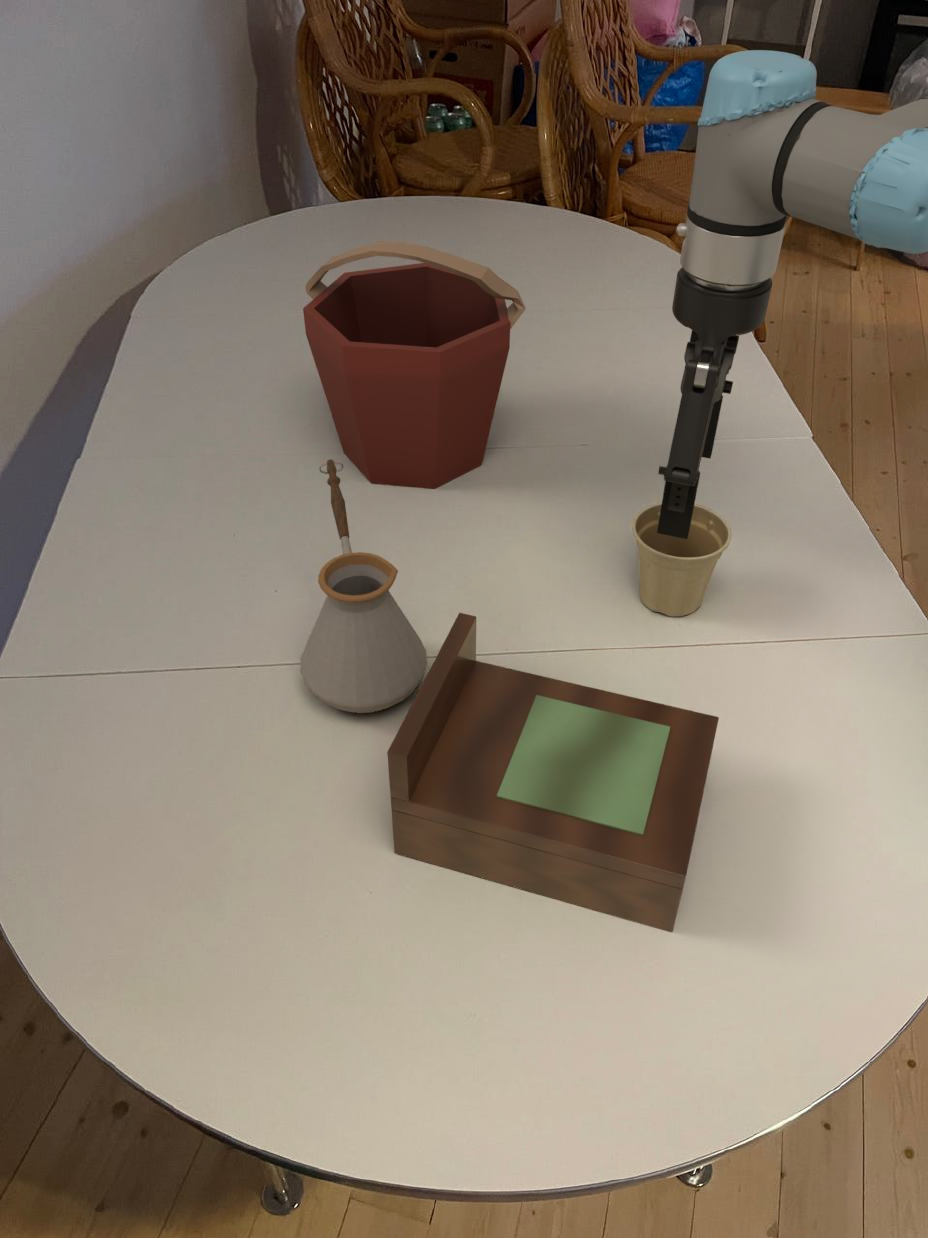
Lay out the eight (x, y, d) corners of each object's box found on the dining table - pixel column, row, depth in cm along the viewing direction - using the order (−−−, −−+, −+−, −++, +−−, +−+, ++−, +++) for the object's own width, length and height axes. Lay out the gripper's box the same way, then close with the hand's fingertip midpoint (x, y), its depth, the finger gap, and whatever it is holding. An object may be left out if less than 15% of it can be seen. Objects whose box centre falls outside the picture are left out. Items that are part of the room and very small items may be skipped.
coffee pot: (439, 717, 93) (436, 587, 83) (310, 739, 91) (292, 609, 81) (396, 571, 109) (390, 447, 99) (286, 587, 107) (267, 462, 97)
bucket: (548, 443, 127) (561, 240, 111) (444, 532, 114) (441, 316, 97) (388, 387, 138) (378, 194, 121) (276, 463, 124) (247, 257, 107)
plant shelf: (705, 773, 88) (729, 672, 80) (672, 932, 77) (696, 832, 69) (459, 713, 93) (459, 612, 85) (394, 853, 82) (386, 752, 74)
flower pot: (603, 594, 106) (611, 526, 100) (664, 557, 110) (675, 489, 105) (675, 642, 101) (688, 572, 95) (735, 600, 105) (751, 531, 100)
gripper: (702, 210, 93) (669, 418, 107) (649, 332, 75) (617, 562, 89) (788, 221, 91) (743, 431, 105) (754, 349, 73) (705, 581, 87)
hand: (685, 492), depth 97 cm, fingers open, 13 cm apart
